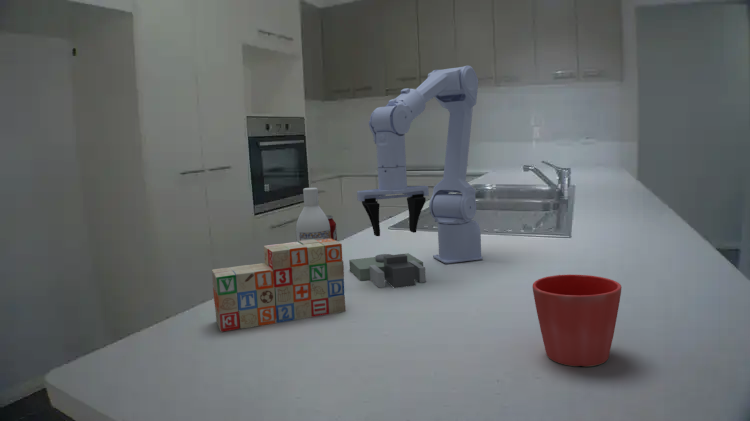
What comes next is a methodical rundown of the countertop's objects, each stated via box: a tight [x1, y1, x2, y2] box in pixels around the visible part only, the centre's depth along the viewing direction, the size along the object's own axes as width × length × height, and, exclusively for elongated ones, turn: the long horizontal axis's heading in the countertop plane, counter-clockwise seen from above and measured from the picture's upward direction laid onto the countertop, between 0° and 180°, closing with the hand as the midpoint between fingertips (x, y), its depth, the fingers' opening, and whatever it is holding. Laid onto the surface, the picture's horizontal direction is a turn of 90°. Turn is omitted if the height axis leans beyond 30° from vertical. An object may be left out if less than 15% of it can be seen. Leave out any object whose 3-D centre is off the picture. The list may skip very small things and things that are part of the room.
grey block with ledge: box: [384, 253, 416, 289], centre depth 115 cm, size 4×7×5 cm, turn 14°
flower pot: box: [532, 274, 622, 367], centre depth 73 cm, size 11×11×10 cm
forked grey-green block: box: [348, 252, 427, 289], centre depth 121 cm, size 14×17×3 cm
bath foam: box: [295, 187, 331, 242], centre depth 115 cm, size 7×7×20 cm
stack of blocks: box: [211, 238, 346, 333], centre depth 96 cm, size 21×6×12 cm, turn 112°
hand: (395, 233), depth 115 cm, fingers open, 7 cm apart
